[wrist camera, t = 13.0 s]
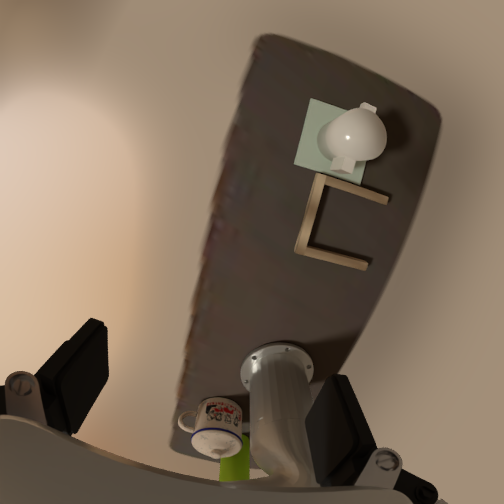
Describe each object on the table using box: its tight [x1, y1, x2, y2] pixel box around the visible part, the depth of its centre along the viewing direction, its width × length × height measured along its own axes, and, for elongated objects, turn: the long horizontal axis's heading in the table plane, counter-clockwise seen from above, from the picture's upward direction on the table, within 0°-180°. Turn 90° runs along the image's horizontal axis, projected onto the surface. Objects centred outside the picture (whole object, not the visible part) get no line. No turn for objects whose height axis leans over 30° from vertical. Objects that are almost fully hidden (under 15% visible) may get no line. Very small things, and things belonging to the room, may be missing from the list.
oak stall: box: [294, 173, 389, 271], centre depth 39 cm, size 11×11×2 cm
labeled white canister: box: [317, 102, 387, 174], centre depth 32 cm, size 6×8×9 cm
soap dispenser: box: [219, 434, 249, 482], centre depth 42 cm, size 6×7×20 cm
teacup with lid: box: [178, 397, 243, 459], centre depth 43 cm, size 12×9×12 cm
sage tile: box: [294, 98, 366, 185], centre depth 36 cm, size 10×10×1 cm
